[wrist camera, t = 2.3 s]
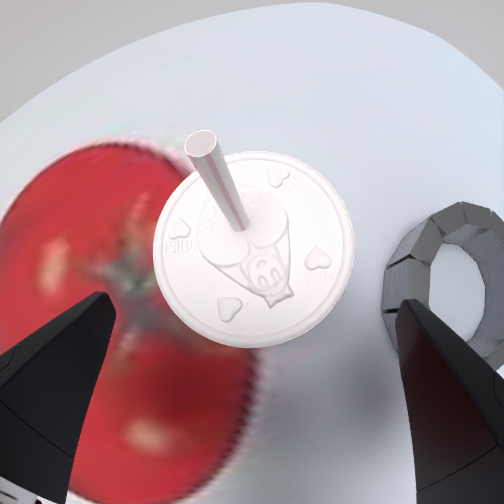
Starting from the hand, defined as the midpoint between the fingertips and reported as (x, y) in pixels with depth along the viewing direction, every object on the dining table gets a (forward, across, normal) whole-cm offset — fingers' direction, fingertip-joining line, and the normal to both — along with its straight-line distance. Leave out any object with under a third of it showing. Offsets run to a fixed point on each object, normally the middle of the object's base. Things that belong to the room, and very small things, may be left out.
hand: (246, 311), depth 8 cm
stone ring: (+7, -12, +6) cm, 16 cm away
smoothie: (+8, 0, +6) cm, 10 cm away
